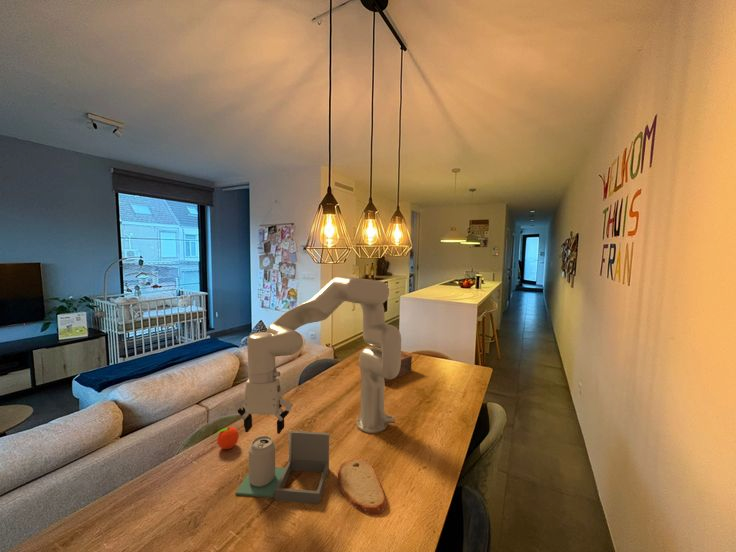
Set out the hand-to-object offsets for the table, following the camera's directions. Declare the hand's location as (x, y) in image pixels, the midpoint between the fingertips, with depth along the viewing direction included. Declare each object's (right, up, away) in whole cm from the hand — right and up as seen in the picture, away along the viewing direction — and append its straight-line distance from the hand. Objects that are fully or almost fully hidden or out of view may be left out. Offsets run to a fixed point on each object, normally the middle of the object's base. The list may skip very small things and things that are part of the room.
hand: (264, 430), depth 90 cm
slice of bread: (+29, -17, 0) cm, 34 cm away
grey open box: (+12, -16, 0) cm, 20 cm away
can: (-1, -15, +1) cm, 15 cm away
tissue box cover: (+42, -11, +84) cm, 95 cm away
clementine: (-19, -15, +16) cm, 29 cm away
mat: (-1, -16, +1) cm, 16 cm away
